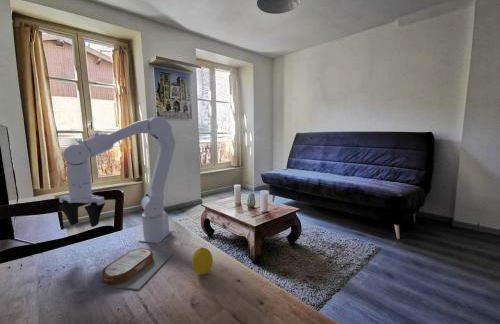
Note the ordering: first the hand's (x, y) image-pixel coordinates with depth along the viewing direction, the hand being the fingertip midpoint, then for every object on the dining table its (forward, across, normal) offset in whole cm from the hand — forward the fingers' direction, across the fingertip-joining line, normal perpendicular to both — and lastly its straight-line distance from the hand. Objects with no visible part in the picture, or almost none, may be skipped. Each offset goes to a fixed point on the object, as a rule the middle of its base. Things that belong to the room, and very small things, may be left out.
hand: (84, 224), depth 76 cm
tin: (+8, +15, -5) cm, 18 cm away
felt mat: (+10, +22, -4) cm, 25 cm away
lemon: (+10, +41, -4) cm, 42 cm away
